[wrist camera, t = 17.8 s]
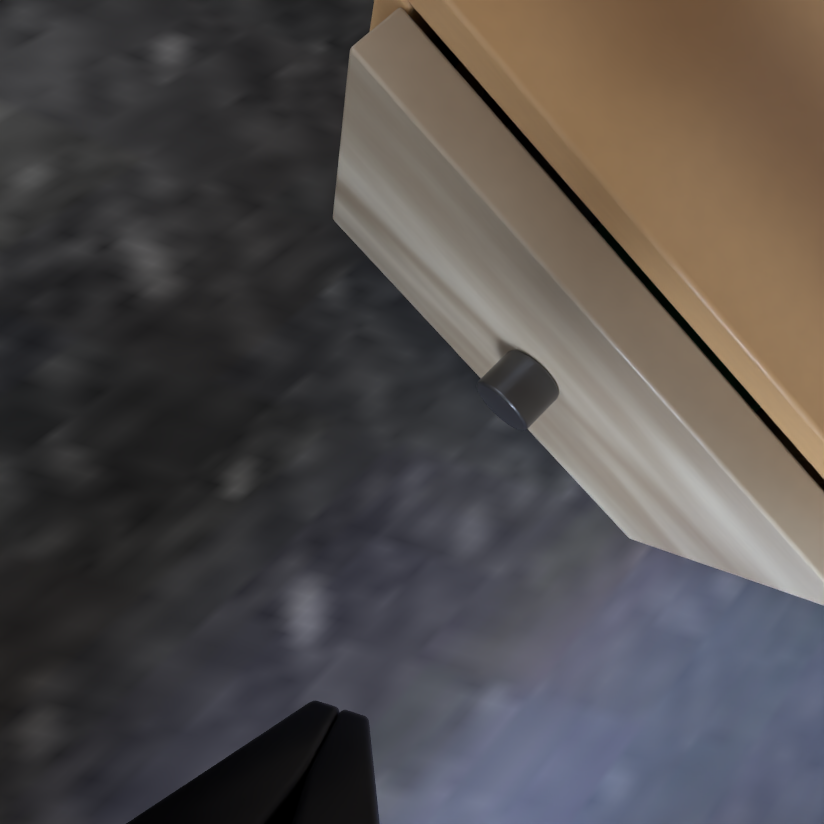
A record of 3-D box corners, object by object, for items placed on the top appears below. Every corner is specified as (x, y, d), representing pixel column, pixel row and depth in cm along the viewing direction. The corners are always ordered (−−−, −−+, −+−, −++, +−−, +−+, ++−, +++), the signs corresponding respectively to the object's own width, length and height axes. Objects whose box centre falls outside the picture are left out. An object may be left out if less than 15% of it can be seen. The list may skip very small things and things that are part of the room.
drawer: (604, 567, 18) (818, 668, 11) (300, 245, 17) (292, 93, 9) (917, 221, 21) (1278, 97, 13) (673, -85, 19) (912, -425, 12)
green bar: (739, 370, 18) (803, 361, 16) (684, 428, 18) (742, 428, 15) (521, 119, 17) (555, 69, 15) (459, 176, 17) (484, 134, 14)
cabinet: (650, 521, 20) (969, 608, 10) (345, 189, 18) (382, -74, 9) (938, 202, 22) (1416, 29, 12) (689, -115, 20) (1014, -582, 11)
